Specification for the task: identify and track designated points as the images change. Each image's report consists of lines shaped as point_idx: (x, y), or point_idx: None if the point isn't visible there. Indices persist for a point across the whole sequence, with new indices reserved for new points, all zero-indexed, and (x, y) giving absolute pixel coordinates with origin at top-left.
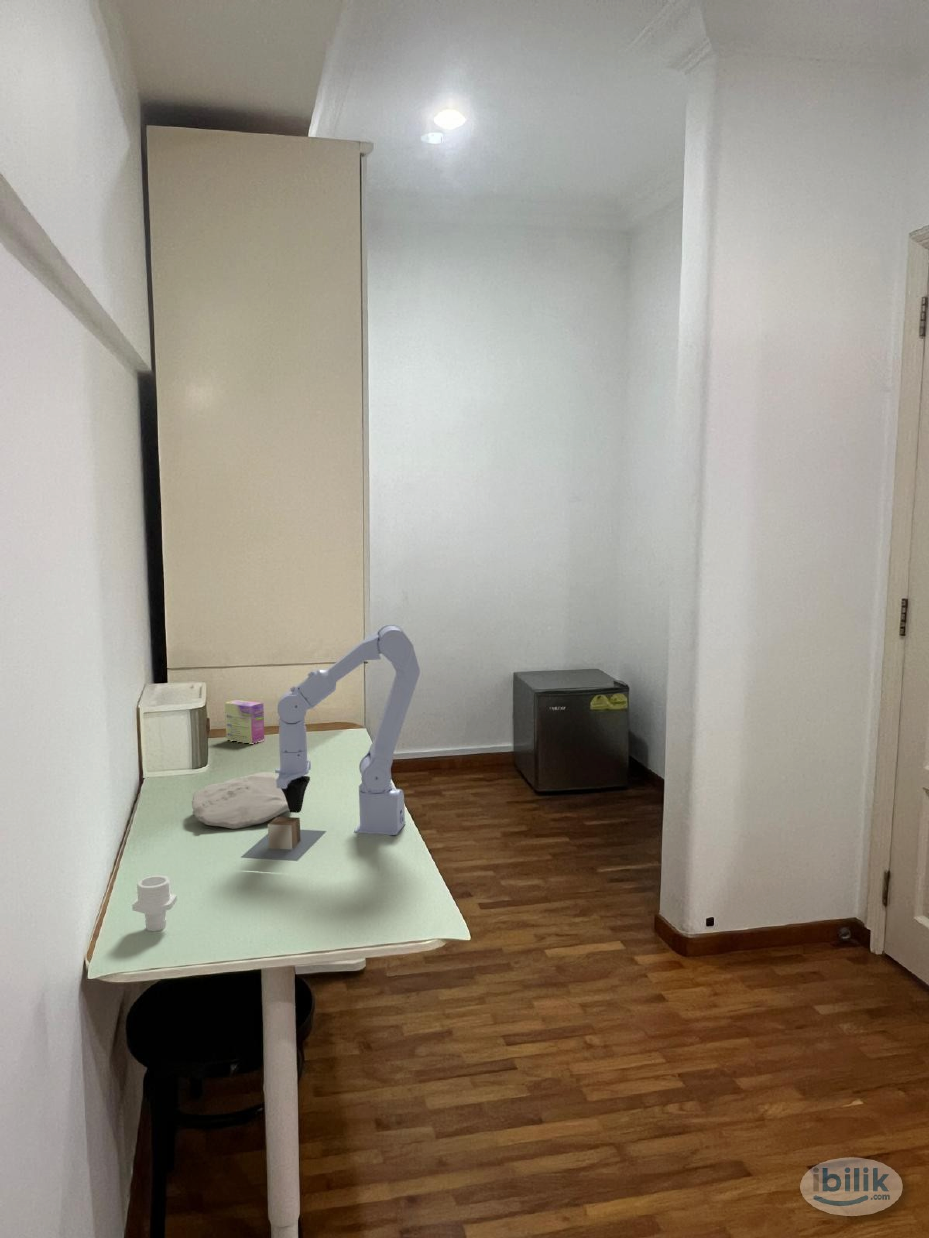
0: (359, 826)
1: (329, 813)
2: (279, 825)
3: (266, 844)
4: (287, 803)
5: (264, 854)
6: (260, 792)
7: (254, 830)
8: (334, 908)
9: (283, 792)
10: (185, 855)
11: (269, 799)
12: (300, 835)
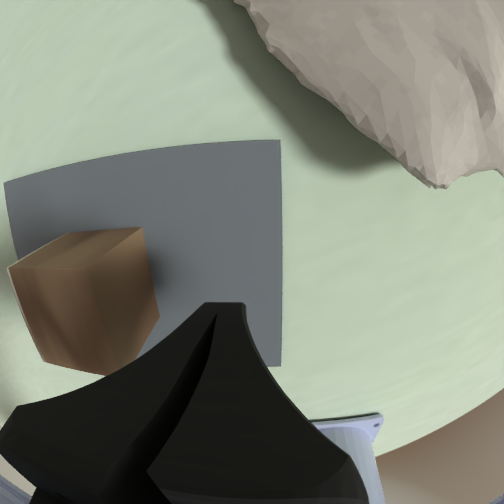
0: (318, 428)
1: (468, 297)
2: (25, 318)
3: (90, 205)
4: (175, 329)
5: (32, 243)
6: (500, 7)
7: (250, 56)
8: (3, 402)
9: (97, 382)
10: (15, 23)
11: (463, 57)
12: (212, 298)
